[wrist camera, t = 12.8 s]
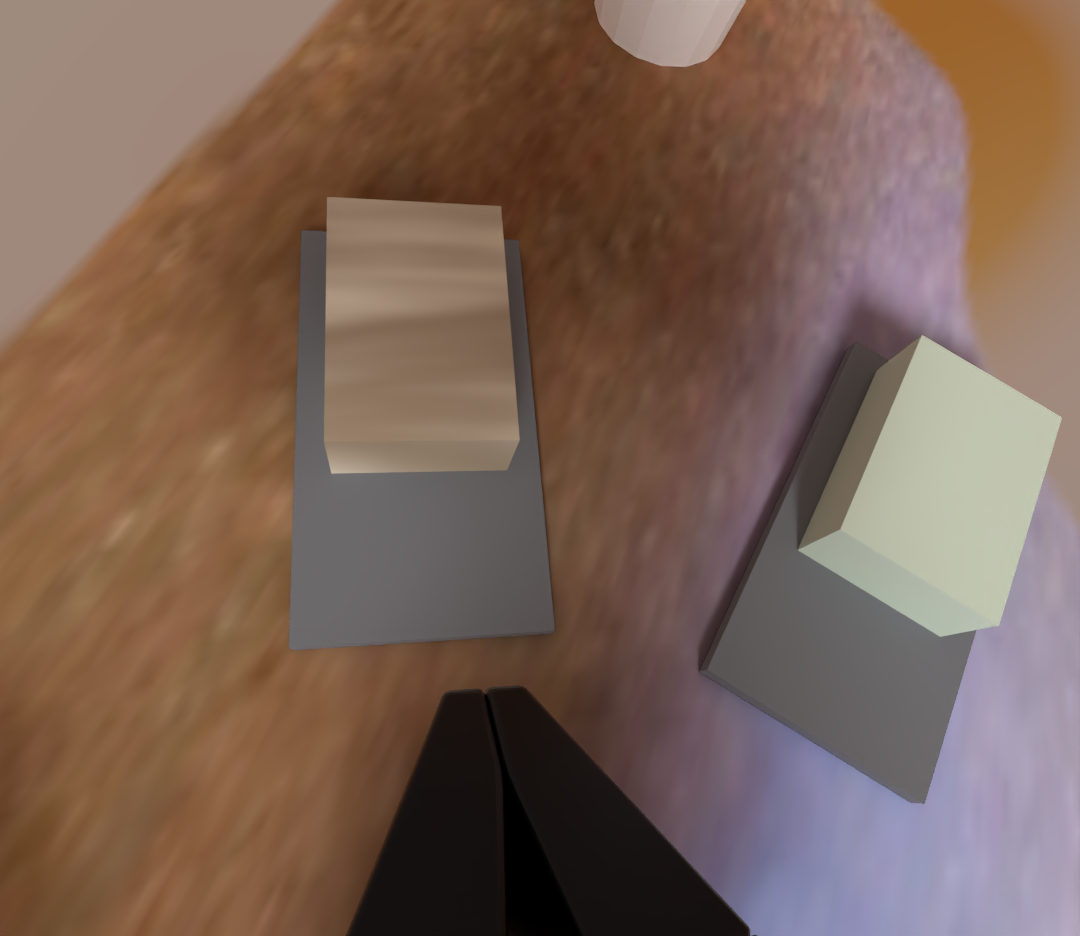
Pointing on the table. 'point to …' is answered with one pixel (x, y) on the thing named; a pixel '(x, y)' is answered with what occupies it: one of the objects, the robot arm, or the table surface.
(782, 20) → the table surface
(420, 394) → the cream tile
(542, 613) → the pair of gray tiles
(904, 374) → the sage tile
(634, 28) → the white cup
